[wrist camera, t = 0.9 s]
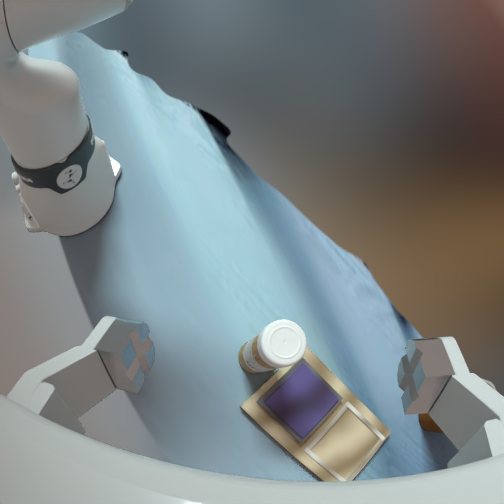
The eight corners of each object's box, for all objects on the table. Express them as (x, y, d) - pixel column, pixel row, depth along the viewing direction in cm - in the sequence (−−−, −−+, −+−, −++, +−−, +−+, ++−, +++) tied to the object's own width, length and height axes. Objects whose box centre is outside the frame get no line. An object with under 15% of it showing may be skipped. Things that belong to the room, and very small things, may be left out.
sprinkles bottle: (277, 359, 40) (317, 345, 28) (252, 380, 38) (282, 376, 27) (256, 333, 41) (287, 309, 29) (230, 354, 39) (251, 338, 28)
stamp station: (239, 406, 37) (243, 407, 35) (301, 345, 42) (308, 343, 40) (336, 491, 33) (343, 495, 31) (386, 431, 38) (395, 432, 36)
